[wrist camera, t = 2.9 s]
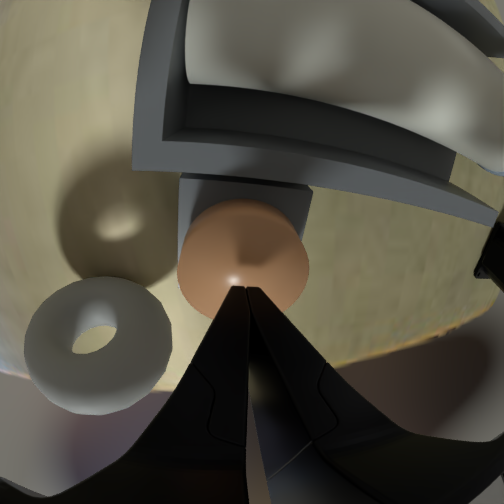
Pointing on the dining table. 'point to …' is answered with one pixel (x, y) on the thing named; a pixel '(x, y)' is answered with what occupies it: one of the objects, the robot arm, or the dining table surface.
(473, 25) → the housing
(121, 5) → the dining table surface
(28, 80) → the dining table surface
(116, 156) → the dining table surface
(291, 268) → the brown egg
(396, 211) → the dining table surface
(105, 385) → the donut
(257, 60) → the cartridge
